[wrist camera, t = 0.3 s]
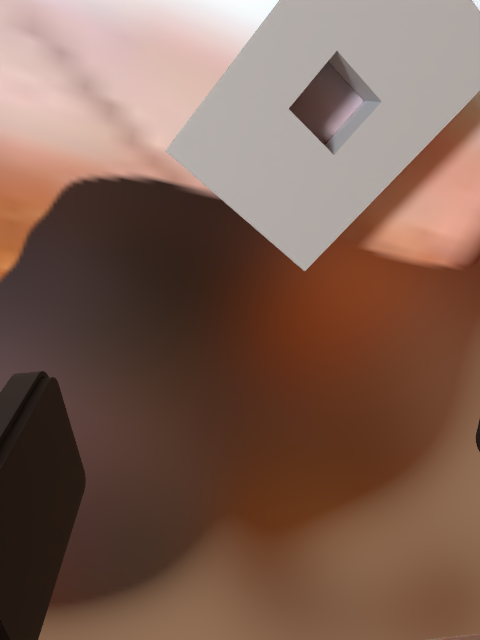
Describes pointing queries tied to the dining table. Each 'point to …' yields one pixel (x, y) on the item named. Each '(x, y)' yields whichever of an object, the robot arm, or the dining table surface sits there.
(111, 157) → the dining table surface
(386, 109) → the grey block with hole
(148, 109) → the dining table surface
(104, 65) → the dining table surface
